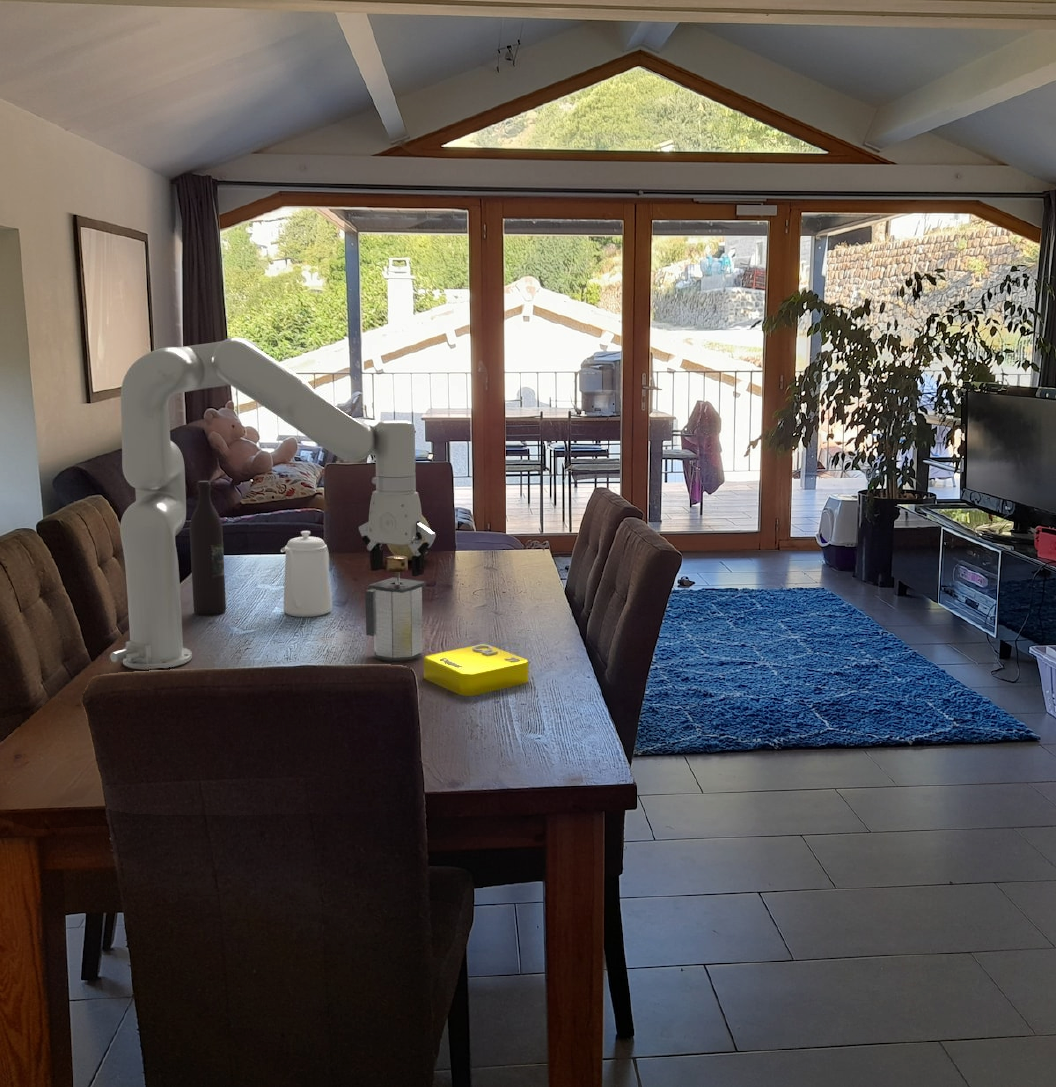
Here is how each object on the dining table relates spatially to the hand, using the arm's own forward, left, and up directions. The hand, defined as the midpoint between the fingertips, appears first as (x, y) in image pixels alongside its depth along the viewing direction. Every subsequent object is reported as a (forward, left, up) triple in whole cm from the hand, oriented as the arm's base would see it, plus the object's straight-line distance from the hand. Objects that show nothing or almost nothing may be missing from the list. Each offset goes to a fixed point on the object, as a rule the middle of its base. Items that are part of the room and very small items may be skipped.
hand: (397, 572), depth 210 cm
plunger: (0, 0, -12) cm, 12 cm away
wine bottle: (+7, +57, -17) cm, 60 cm away
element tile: (-5, -21, -18) cm, 28 cm away
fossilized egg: (+80, +53, -17) cm, 97 cm away
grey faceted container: (0, +1, -17) cm, 17 cm away
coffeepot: (+18, +38, -17) cm, 45 cm away
